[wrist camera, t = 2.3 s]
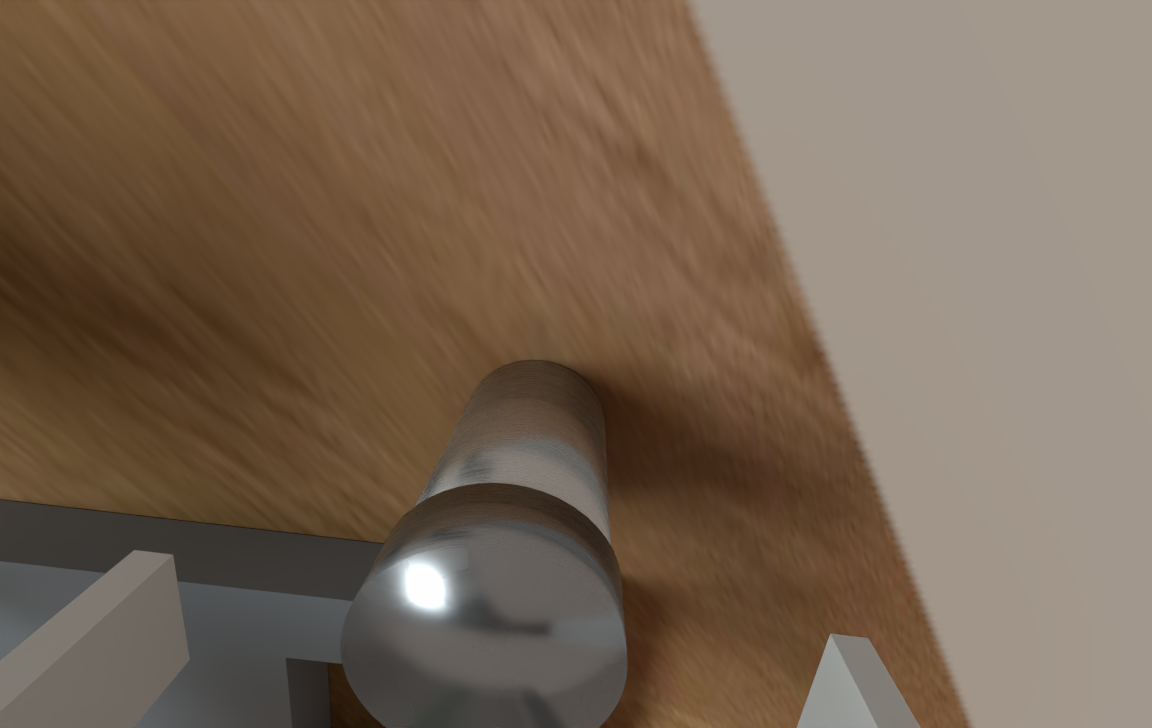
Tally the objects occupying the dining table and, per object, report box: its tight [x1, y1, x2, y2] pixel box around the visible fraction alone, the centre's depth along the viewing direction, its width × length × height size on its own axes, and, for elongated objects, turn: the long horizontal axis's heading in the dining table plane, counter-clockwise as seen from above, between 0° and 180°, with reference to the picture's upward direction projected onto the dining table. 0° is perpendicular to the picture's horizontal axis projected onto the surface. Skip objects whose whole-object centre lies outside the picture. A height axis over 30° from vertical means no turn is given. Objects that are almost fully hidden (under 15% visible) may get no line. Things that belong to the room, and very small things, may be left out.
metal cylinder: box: [340, 360, 628, 728], centre depth 15 cm, size 5×5×10 cm
